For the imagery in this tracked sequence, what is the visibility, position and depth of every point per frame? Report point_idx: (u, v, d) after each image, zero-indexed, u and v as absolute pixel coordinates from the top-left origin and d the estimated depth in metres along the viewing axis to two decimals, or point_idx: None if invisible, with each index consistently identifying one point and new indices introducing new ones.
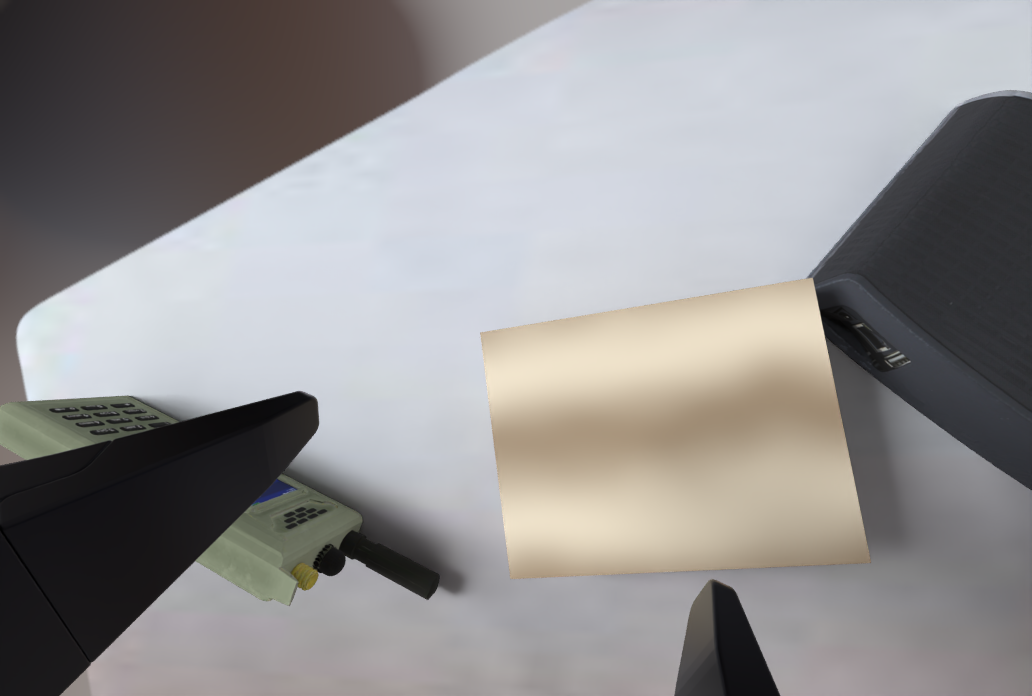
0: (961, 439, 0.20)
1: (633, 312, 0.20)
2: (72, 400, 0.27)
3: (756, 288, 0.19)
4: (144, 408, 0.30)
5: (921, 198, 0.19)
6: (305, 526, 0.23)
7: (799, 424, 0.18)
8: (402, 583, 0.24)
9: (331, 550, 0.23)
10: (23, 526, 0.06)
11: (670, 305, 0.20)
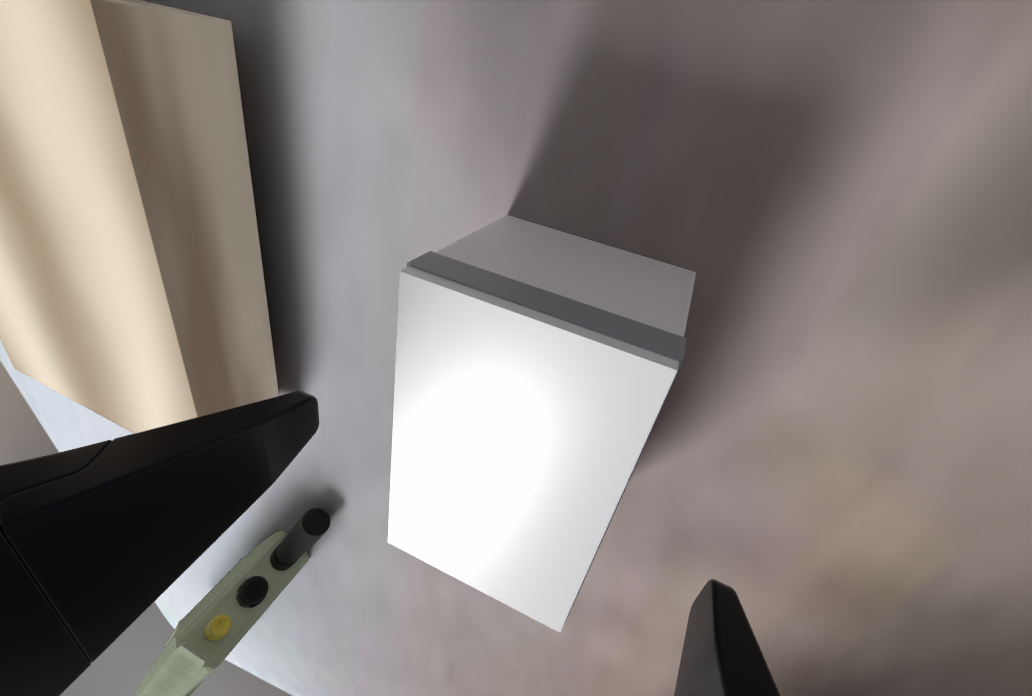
0: None
1: None
2: None
3: None
4: None
5: None
6: (210, 593, 0.23)
7: None
8: (302, 545, 0.22)
9: (241, 585, 0.23)
10: (22, 526, 0.06)
11: None
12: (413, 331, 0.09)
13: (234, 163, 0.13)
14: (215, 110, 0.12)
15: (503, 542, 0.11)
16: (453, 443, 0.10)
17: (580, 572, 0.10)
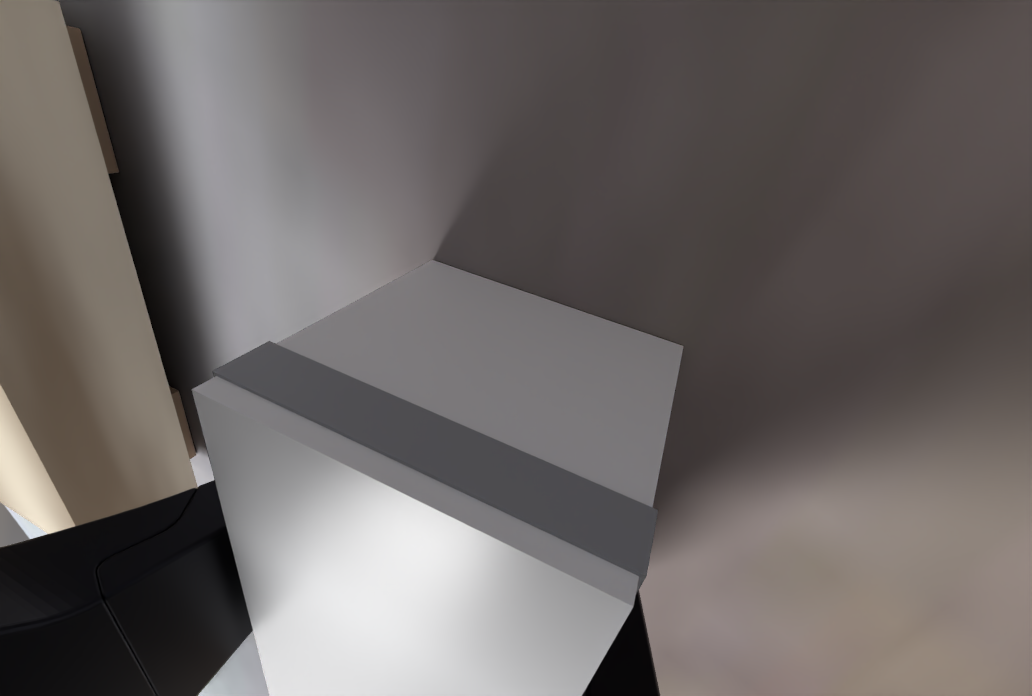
0: None
1: None
2: None
3: None
4: None
5: None
6: None
7: None
8: None
9: None
10: (121, 592, 0.06)
11: None
12: (232, 473, 0.06)
13: (87, 189, 0.10)
14: (45, 121, 0.09)
15: None
16: (318, 619, 0.07)
17: None
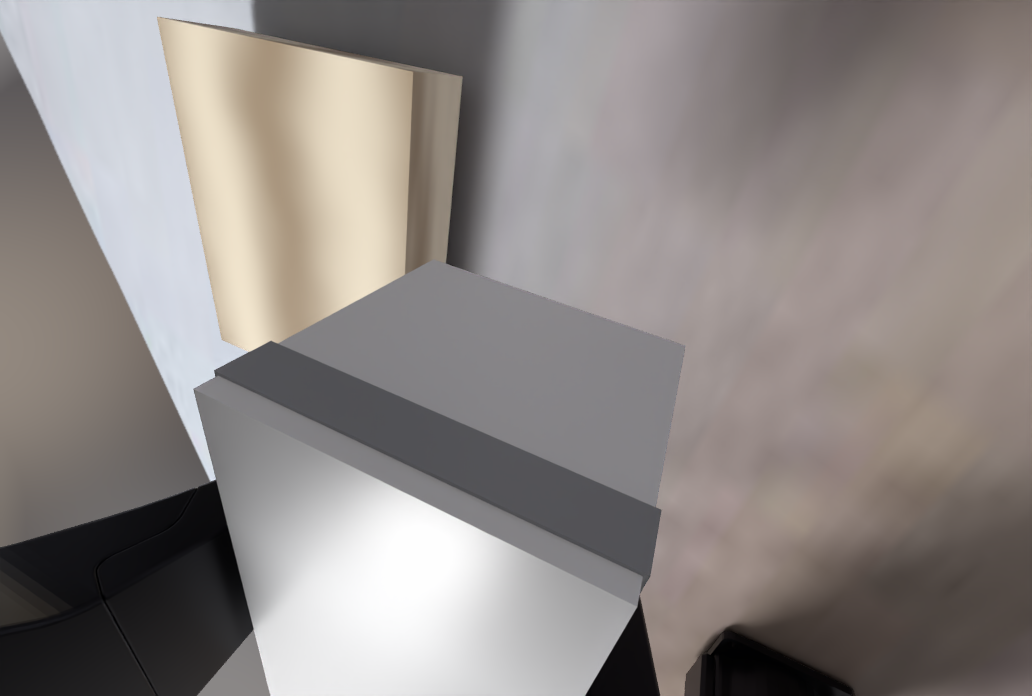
0: None
1: (199, 209, 0.21)
2: None
3: (171, 81, 0.18)
4: None
5: None
6: None
7: (282, 92, 0.16)
8: None
9: None
10: (122, 592, 0.06)
11: (191, 173, 0.20)
12: (234, 472, 0.06)
13: (447, 176, 0.18)
14: (446, 138, 0.17)
15: None
16: (319, 619, 0.07)
17: None
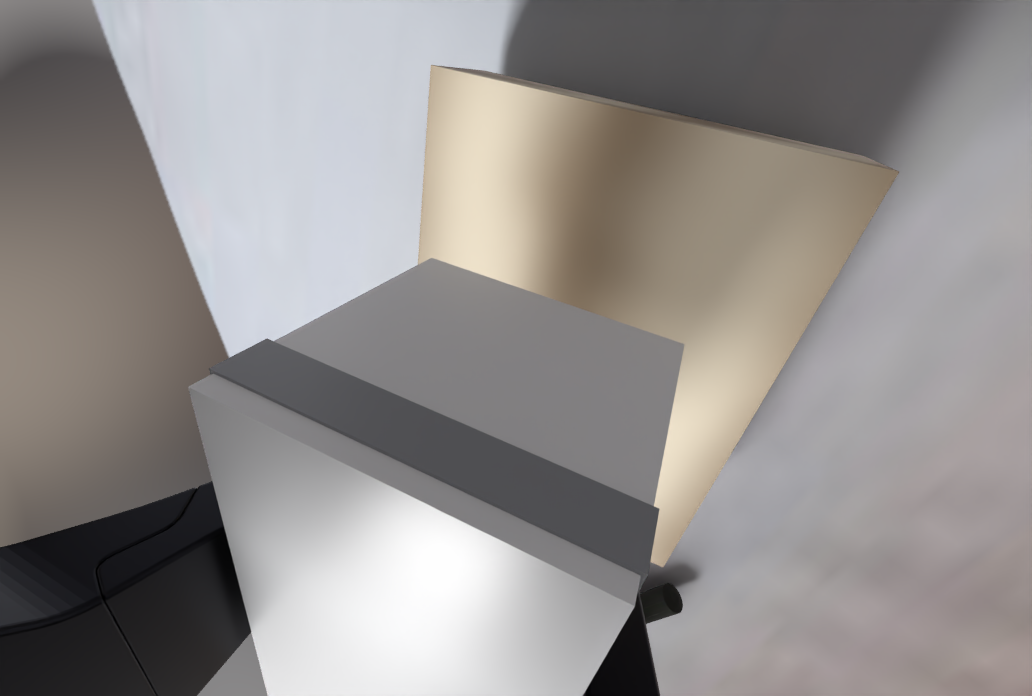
0: None
1: None
2: None
3: (427, 150, 0.13)
4: None
5: None
6: None
7: (625, 179, 0.11)
8: (652, 620, 0.22)
9: None
10: (122, 592, 0.06)
11: None
12: (229, 471, 0.06)
13: None
14: None
15: None
16: (316, 619, 0.06)
17: None
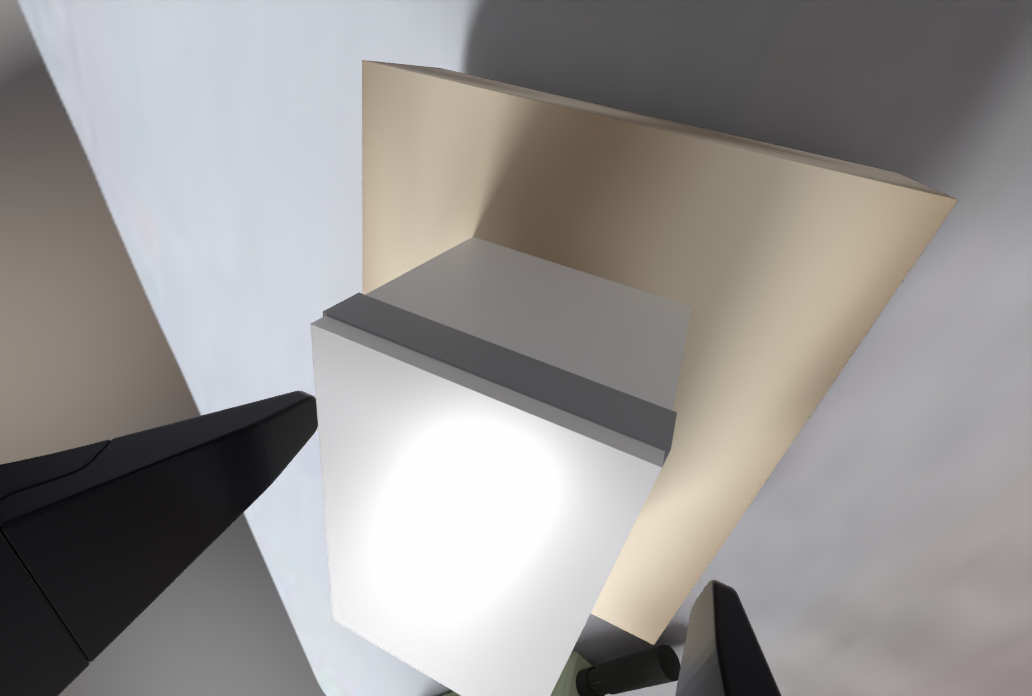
0: None
1: None
2: None
3: (365, 164, 0.11)
4: None
5: None
6: None
7: (601, 203, 0.09)
8: (647, 686, 0.20)
9: None
10: (22, 525, 0.06)
11: None
12: (334, 395, 0.07)
13: None
14: None
15: (459, 636, 0.09)
16: (393, 525, 0.08)
17: (550, 679, 0.08)
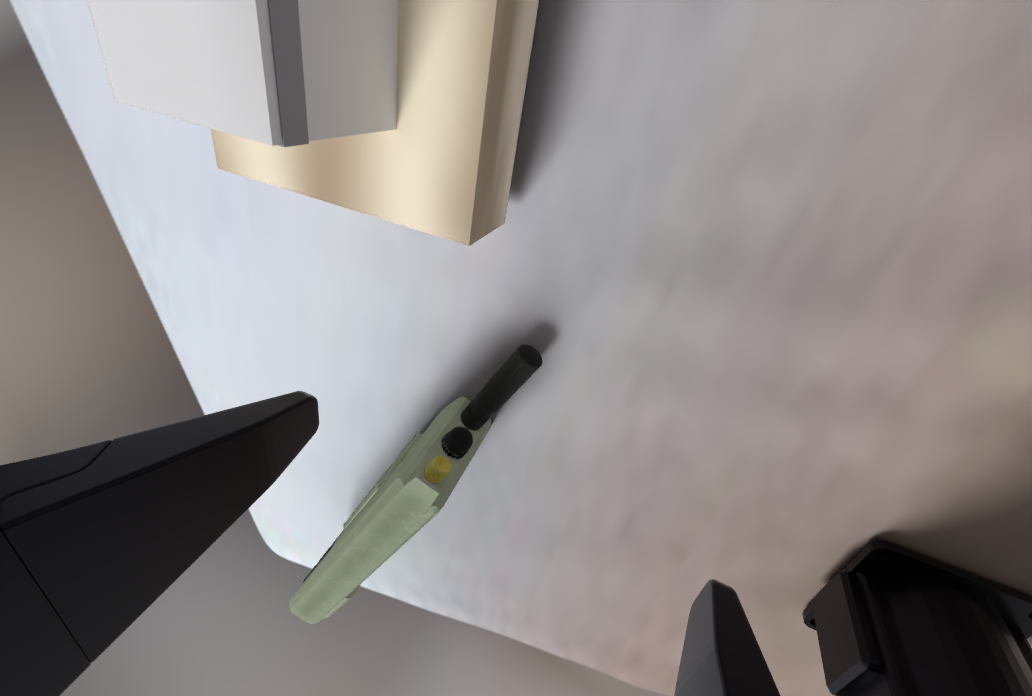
0: None
1: None
2: None
3: None
4: None
5: None
6: (412, 447, 0.22)
7: None
8: (513, 384, 0.21)
9: (446, 435, 0.22)
10: (22, 526, 0.06)
11: None
12: None
13: None
14: None
15: (187, 13, 0.10)
16: None
17: (252, 12, 0.09)
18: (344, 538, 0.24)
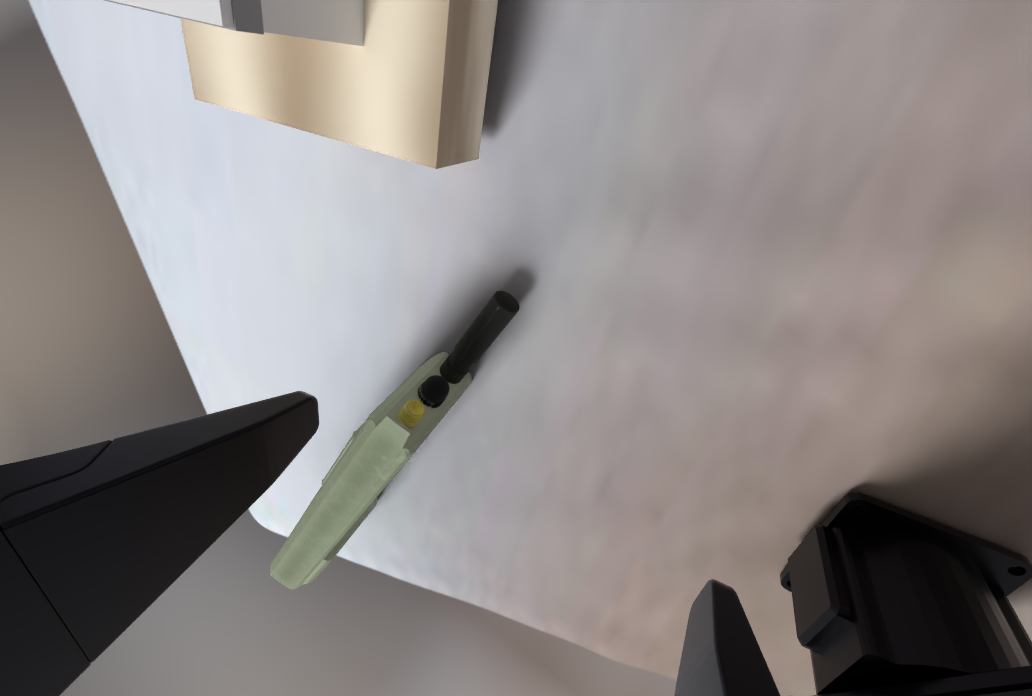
0: None
1: None
2: None
3: None
4: None
5: None
6: (389, 396, 0.22)
7: None
8: (489, 331, 0.21)
9: (423, 384, 0.22)
10: (22, 526, 0.06)
11: None
12: None
13: None
14: None
15: None
16: None
17: None
18: (321, 491, 0.24)
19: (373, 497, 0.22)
